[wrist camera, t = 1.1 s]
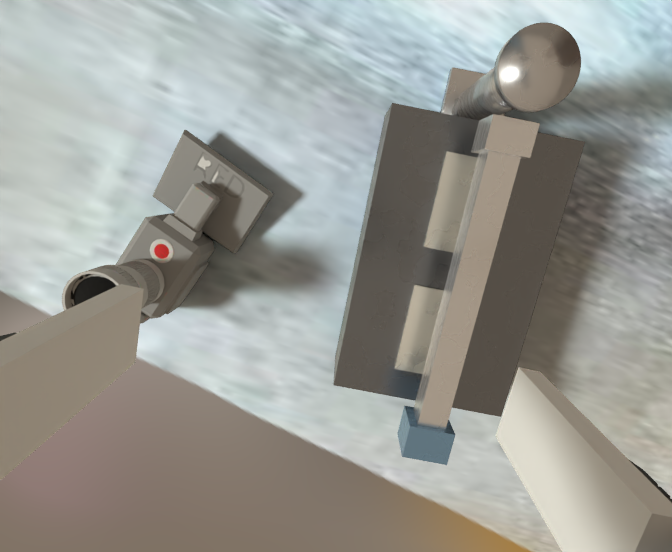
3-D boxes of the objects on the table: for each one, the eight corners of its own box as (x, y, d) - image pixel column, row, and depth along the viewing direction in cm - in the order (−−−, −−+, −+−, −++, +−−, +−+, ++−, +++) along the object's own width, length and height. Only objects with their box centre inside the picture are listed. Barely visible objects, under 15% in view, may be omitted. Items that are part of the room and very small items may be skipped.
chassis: (384, 116, 36) (392, 102, 30) (546, 148, 36) (588, 141, 30) (335, 355, 41) (333, 387, 35) (478, 383, 41) (502, 419, 35)
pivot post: (450, 70, 35) (507, 7, 23) (509, 81, 35) (599, 26, 23) (435, 132, 36) (482, 106, 24) (493, 144, 36) (570, 123, 24)
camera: (12, 304, 28) (128, 108, 26) (108, 270, 40) (195, 133, 37) (126, 378, 29) (249, 195, 26) (188, 324, 40) (277, 193, 38)
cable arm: (476, 120, 28) (490, 113, 25) (523, 129, 28) (543, 124, 25) (397, 433, 33) (402, 456, 30) (438, 441, 33) (446, 464, 30)
